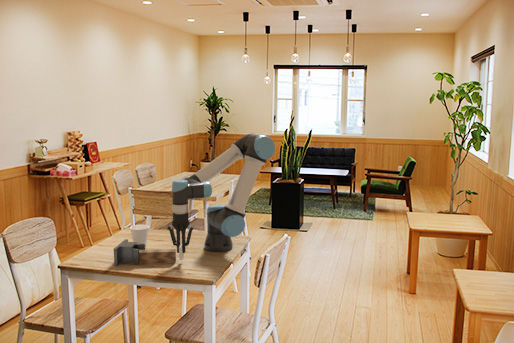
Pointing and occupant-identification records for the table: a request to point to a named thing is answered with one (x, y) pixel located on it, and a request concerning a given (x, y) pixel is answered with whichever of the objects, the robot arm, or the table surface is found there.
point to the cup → (139, 233)
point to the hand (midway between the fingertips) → (181, 259)
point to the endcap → (127, 252)
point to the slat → (157, 256)
